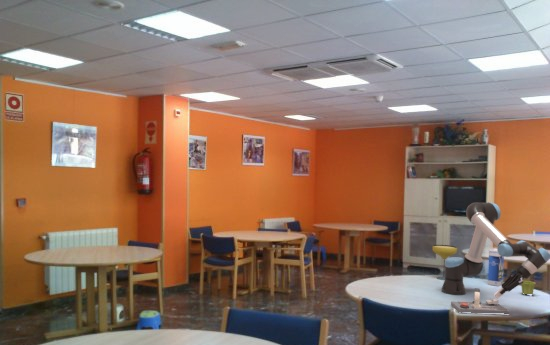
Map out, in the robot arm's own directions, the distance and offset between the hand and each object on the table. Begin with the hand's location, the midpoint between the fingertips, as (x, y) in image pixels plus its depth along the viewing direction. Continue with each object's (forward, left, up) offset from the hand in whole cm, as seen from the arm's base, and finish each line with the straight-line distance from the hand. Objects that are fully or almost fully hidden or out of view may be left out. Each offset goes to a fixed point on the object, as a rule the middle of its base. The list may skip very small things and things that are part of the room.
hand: (495, 296), depth 275 cm
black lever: (-11, +3, -7) cm, 13 cm away
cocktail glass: (-55, +75, -10) cm, 93 cm away
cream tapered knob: (-9, -6, -7) cm, 12 cm away
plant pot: (+5, +65, -10) cm, 66 cm away
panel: (-9, 0, -9) cm, 13 cm away
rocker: (-4, +8, -5) cm, 11 cm away
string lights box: (-20, +85, -10) cm, 87 cm away
